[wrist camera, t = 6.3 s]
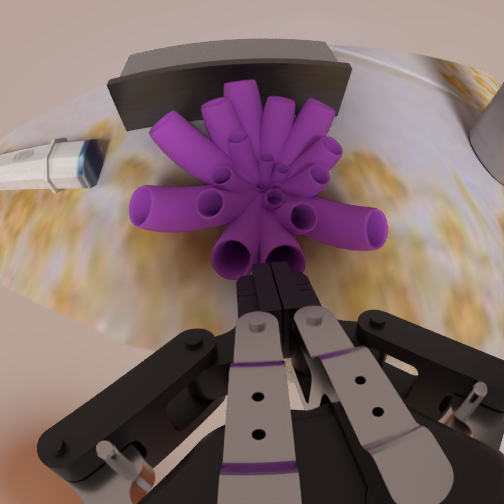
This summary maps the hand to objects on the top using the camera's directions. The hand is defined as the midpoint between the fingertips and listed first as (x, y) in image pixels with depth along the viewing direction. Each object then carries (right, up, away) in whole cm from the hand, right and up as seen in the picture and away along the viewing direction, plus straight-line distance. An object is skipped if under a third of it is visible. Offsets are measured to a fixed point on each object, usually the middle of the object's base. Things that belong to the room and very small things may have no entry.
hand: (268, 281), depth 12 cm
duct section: (-3, +16, +11) cm, 20 cm away
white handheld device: (-26, +8, +8) cm, 28 cm away
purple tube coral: (-1, +5, +7) cm, 9 cm away
